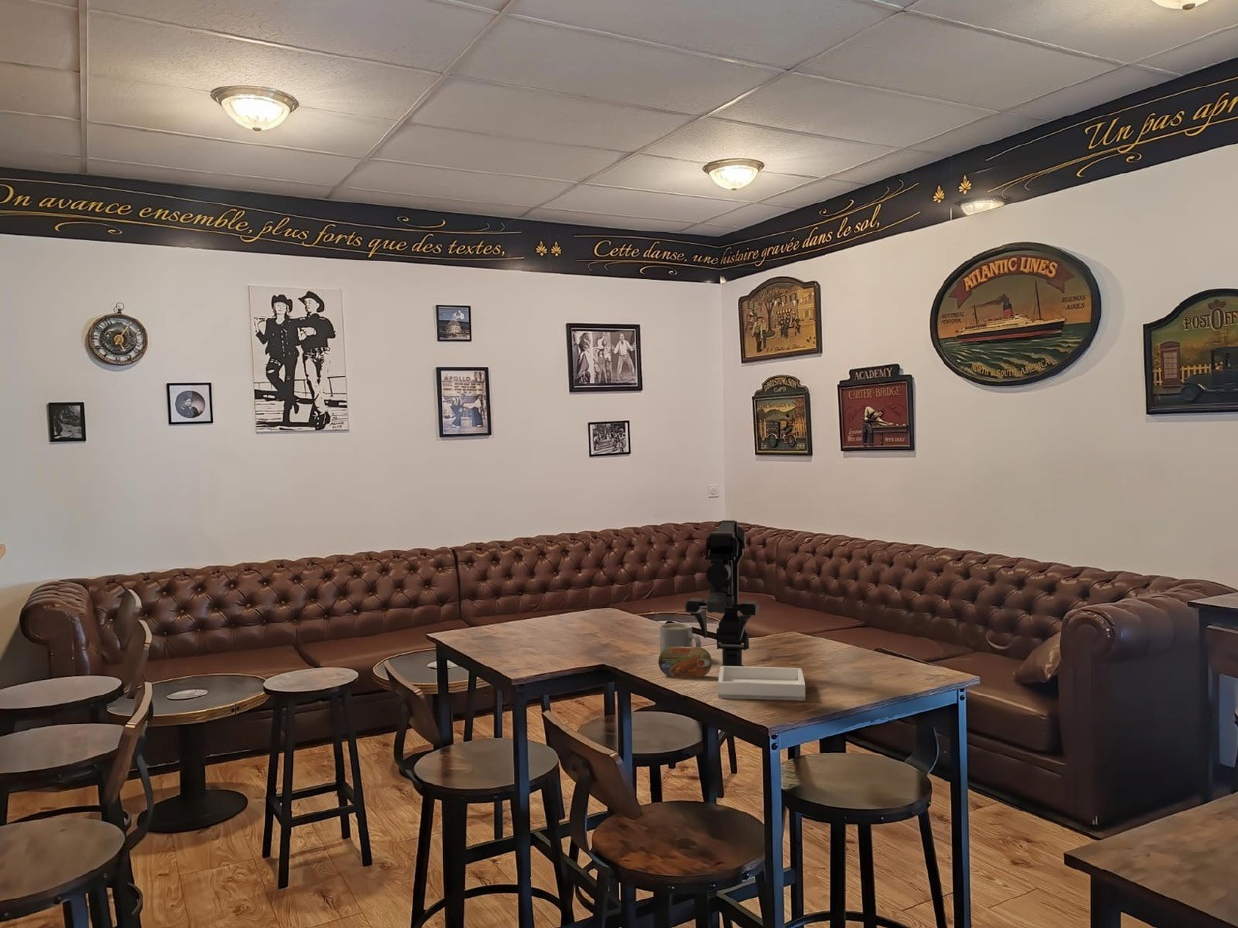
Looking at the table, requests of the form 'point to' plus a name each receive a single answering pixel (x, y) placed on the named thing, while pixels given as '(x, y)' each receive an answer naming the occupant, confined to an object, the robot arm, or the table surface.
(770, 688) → the tray
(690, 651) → the tin
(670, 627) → the coffee mug
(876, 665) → the table surface
